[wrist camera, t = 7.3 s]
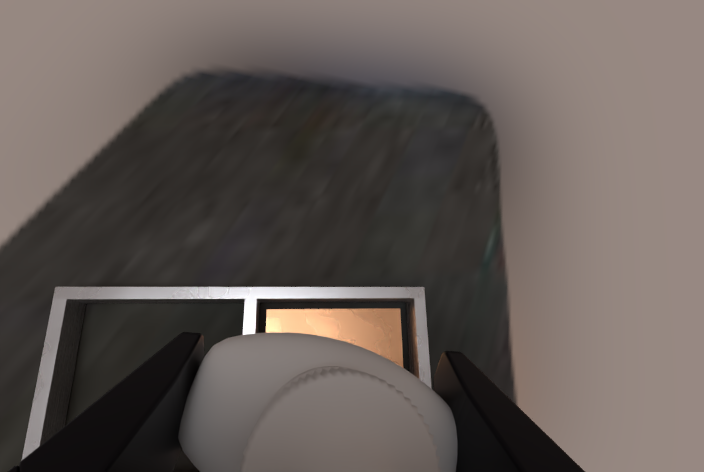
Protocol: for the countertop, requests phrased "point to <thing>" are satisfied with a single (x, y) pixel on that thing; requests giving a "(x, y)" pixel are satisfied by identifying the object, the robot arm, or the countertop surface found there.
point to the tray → (342, 324)
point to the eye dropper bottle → (312, 410)
